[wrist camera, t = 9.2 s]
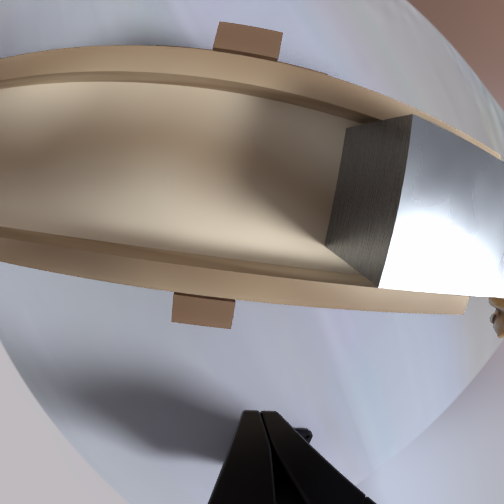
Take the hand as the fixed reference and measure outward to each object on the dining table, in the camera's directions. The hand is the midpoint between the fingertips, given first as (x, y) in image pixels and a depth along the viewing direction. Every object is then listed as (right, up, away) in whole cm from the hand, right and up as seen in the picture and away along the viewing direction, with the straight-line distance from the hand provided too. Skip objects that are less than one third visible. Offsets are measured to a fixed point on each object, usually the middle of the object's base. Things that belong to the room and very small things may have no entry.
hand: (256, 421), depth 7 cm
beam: (-1, +7, +5) cm, 9 cm away
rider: (+7, +6, +5) cm, 11 cm away
